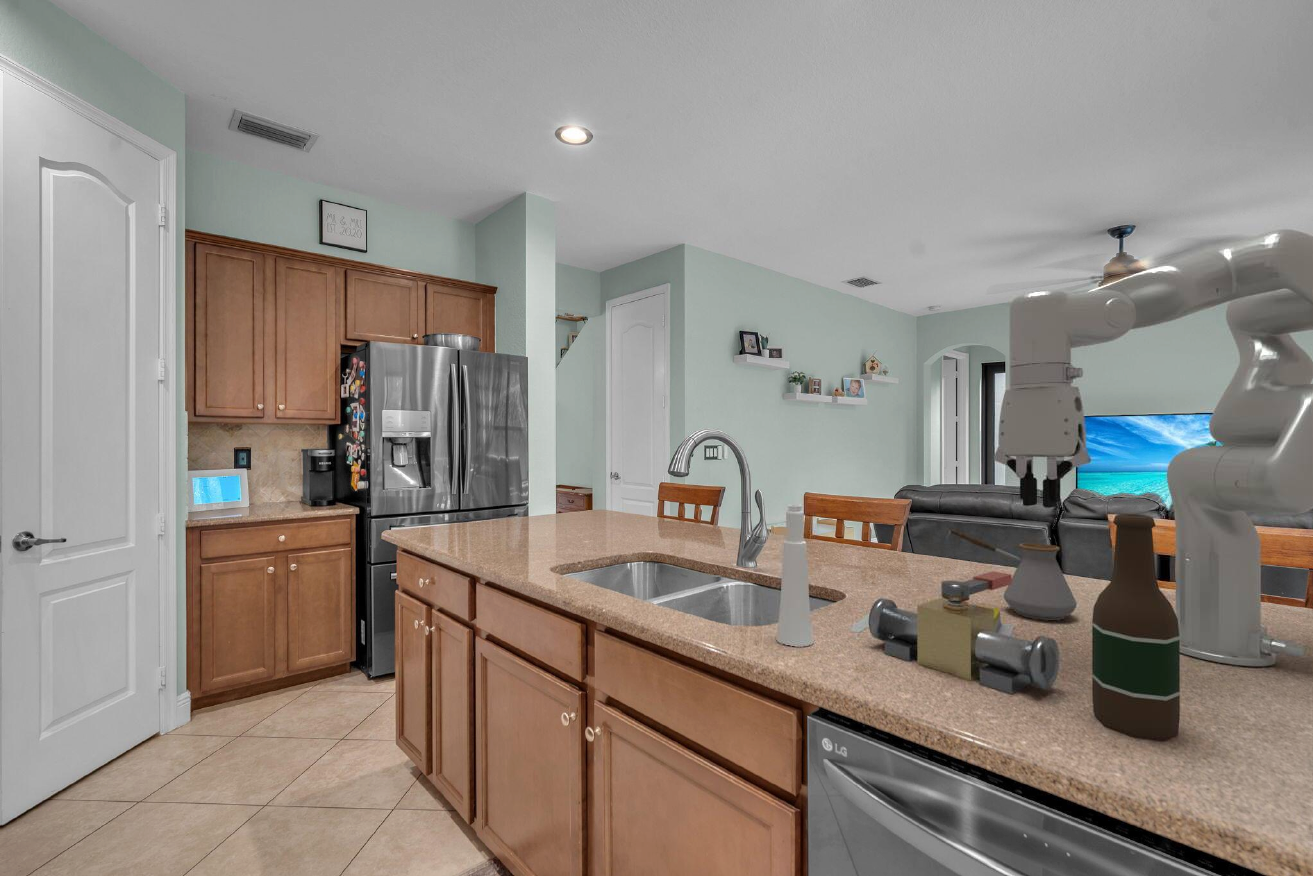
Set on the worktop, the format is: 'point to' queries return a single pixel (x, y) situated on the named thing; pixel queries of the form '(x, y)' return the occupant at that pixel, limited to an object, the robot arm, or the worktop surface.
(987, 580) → the lever
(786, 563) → the cosmetic bottle
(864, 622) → the butter knife
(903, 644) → the valve
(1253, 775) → the worktop surface
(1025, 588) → the coffee pot
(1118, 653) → the beer bottle
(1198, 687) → the worktop surface
